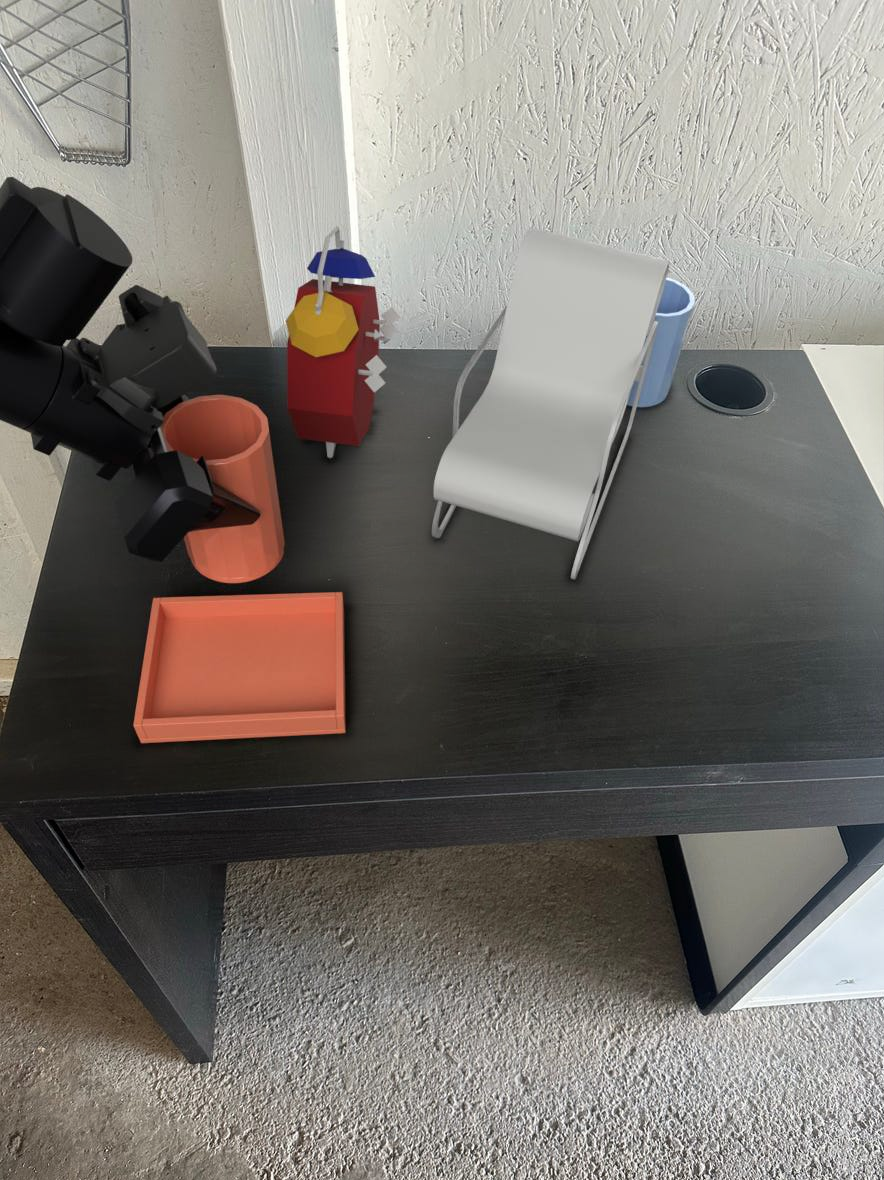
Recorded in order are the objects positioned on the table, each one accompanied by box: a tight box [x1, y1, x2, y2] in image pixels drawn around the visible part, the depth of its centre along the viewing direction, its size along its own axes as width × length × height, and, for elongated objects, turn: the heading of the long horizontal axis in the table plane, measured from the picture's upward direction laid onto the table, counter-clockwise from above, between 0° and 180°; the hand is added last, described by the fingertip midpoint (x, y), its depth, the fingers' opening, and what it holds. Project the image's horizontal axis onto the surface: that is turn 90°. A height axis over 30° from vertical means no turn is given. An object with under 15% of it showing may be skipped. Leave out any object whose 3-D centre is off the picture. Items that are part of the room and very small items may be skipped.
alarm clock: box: [285, 225, 401, 459], centre depth 82 cm, size 15×9×20 cm, turn 174°
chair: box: [431, 226, 671, 580], centre depth 79 cm, size 13×25×20 cm, turn 161°
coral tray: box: [132, 591, 347, 744], centre depth 70 cm, size 15×12×2 cm
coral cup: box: [160, 394, 286, 584], centre depth 66 cm, size 7×7×12 cm
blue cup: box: [626, 277, 696, 408], centre depth 93 cm, size 7×7×11 cm
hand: (243, 482), depth 66 cm, fingers closed on coral cup, 7 cm apart
